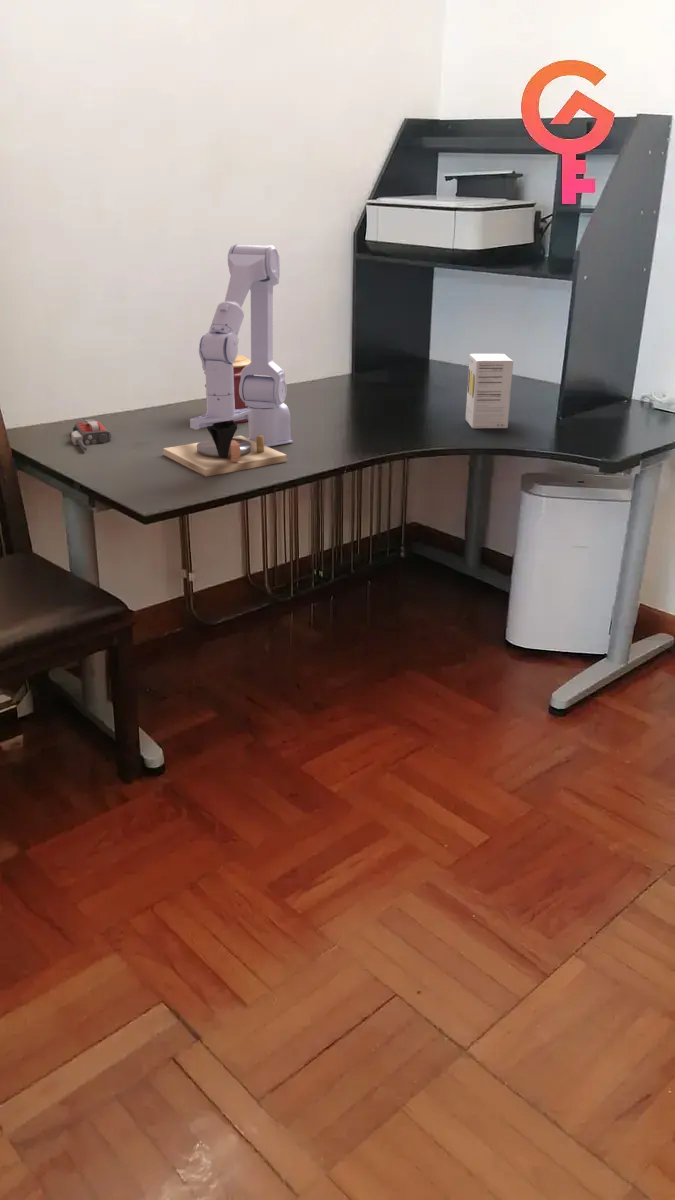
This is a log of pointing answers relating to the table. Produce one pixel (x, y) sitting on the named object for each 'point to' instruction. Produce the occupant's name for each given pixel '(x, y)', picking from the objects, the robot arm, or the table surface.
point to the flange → (235, 448)
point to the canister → (238, 382)
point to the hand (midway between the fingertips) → (223, 457)
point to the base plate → (218, 465)
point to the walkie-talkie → (90, 433)
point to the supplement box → (489, 390)
